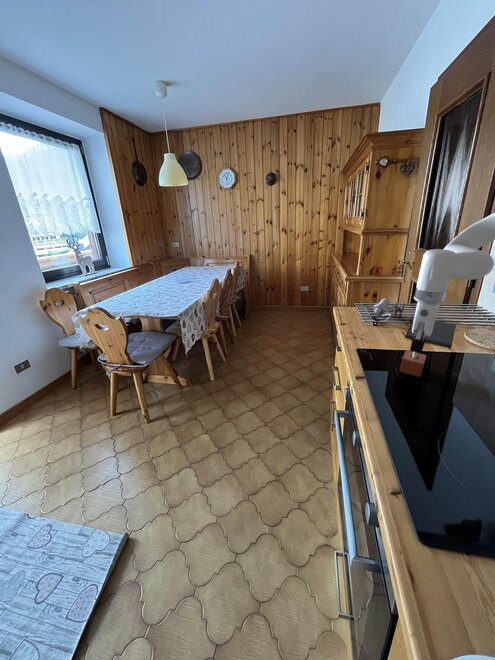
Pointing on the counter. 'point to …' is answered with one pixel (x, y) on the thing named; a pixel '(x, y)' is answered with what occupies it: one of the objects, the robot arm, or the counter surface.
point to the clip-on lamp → (383, 304)
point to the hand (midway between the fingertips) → (416, 349)
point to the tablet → (437, 334)
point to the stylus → (415, 354)
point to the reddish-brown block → (412, 364)
